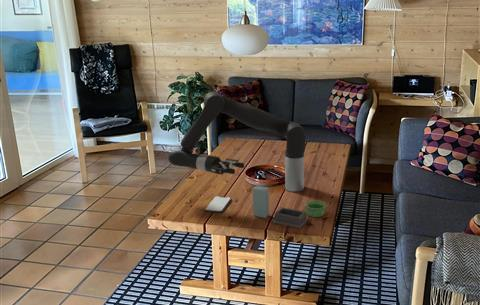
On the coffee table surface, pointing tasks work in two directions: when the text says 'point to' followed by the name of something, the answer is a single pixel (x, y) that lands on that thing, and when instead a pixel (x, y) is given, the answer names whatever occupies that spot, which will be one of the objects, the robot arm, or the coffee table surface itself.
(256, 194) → the tall teal prism
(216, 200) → the phone case
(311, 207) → the ramekin
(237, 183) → the coffee table surface
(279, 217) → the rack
